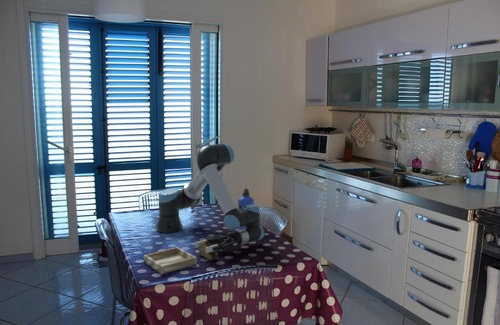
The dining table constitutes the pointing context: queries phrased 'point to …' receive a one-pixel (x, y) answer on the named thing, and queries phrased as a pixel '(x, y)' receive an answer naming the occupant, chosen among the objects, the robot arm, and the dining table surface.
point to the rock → (207, 255)
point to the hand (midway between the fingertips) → (201, 247)
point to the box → (170, 260)
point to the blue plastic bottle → (244, 203)
